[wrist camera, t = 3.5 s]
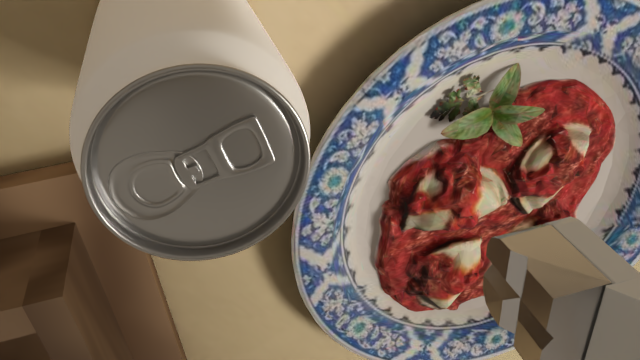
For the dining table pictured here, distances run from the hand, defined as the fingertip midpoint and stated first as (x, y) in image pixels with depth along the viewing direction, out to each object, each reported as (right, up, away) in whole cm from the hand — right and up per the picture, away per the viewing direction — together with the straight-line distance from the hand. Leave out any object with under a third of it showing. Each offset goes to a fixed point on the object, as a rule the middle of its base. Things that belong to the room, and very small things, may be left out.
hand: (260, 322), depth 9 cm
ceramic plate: (+11, +2, +25) cm, 27 cm away
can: (-5, +9, +15) cm, 18 cm away
